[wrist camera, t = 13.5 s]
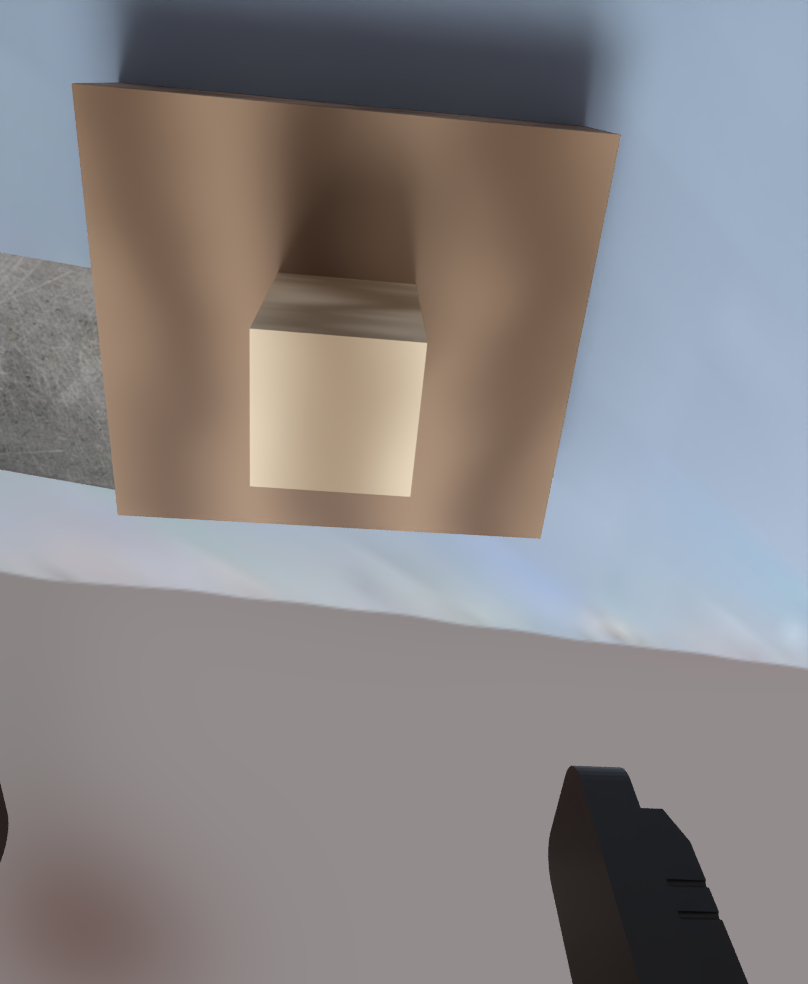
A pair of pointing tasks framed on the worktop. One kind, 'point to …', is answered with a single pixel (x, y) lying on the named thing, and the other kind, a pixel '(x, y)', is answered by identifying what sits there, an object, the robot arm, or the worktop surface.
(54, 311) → the meat cleaver
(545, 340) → the walnut base
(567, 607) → the worktop surface
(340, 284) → the beech block
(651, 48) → the worktop surface
